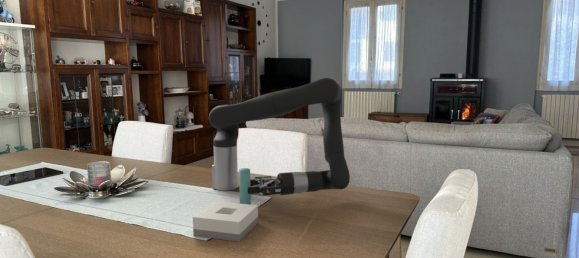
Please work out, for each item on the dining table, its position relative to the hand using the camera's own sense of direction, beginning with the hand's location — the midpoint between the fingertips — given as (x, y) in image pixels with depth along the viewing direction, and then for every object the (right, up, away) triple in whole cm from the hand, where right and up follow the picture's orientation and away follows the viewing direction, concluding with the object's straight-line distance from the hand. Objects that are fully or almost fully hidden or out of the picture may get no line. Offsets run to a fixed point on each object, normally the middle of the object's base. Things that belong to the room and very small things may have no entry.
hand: (245, 187), depth 128 cm
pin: (0, -8, +1) cm, 8 cm away
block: (-4, -10, -14) cm, 18 cm away
